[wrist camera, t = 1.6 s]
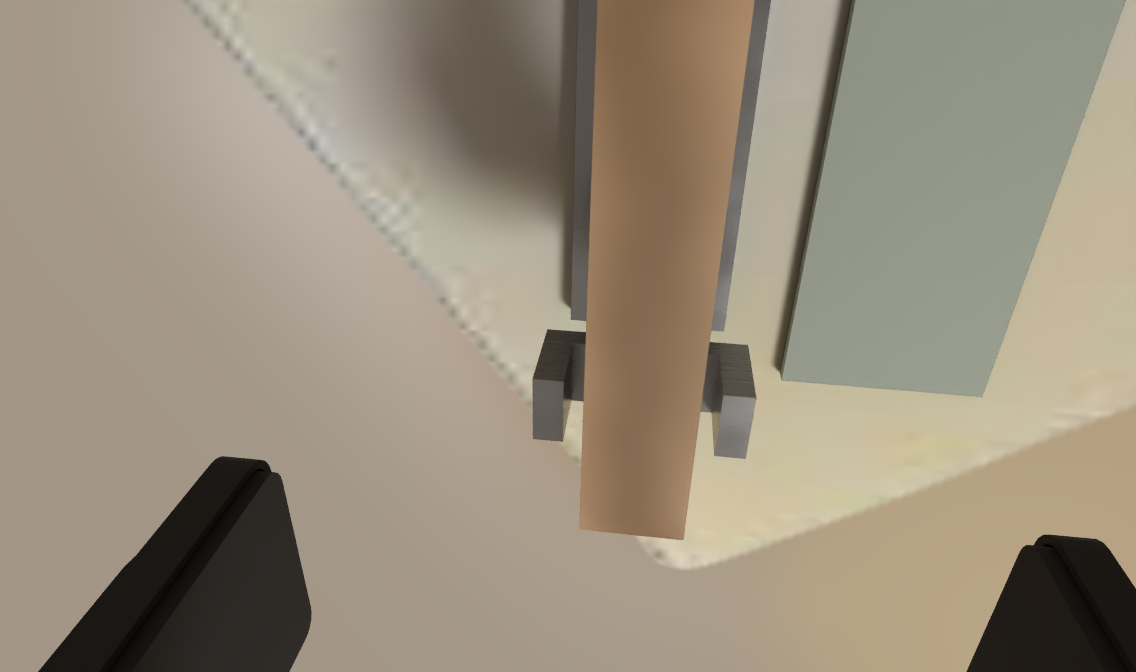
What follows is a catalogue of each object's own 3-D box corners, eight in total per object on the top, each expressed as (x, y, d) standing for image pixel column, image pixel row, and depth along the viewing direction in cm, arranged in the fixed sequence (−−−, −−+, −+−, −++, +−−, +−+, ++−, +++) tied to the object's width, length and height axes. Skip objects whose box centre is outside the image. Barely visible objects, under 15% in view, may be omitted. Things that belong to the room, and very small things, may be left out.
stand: (792, -170, 25) (864, -210, 16) (722, 322, 35) (740, 489, 25) (584, -173, 26) (528, -213, 16) (572, 311, 36) (533, 468, 26)
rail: (775, -281, 17) (796, -318, 14) (682, 471, 28) (683, 540, 25) (620, -281, 17) (608, -316, 14) (589, 462, 29) (579, 529, 26)
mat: (1210, -265, 23) (1222, -268, 22) (977, 389, 35) (982, 397, 35) (902, -265, 24) (907, -269, 23) (780, 373, 36) (781, 380, 35)
